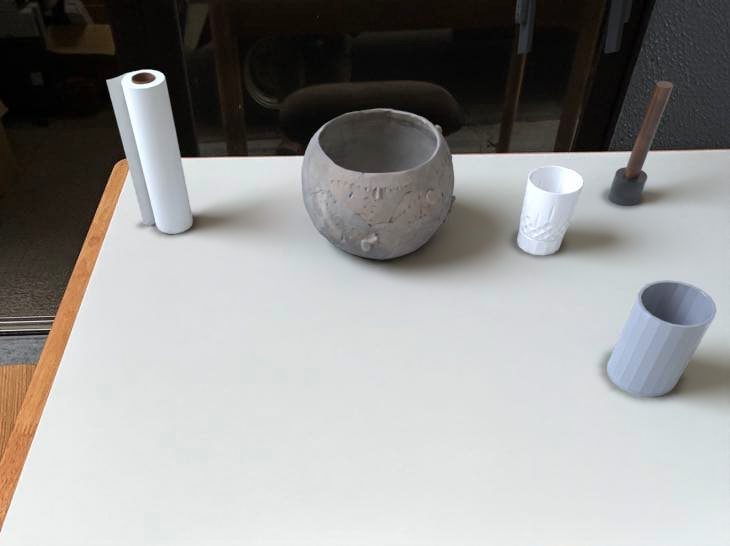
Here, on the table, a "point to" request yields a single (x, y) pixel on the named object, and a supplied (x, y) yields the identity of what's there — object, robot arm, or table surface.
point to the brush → (640, 151)
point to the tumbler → (660, 337)
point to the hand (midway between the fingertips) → (568, 52)
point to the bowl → (378, 182)
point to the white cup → (548, 208)
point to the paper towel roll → (152, 148)
